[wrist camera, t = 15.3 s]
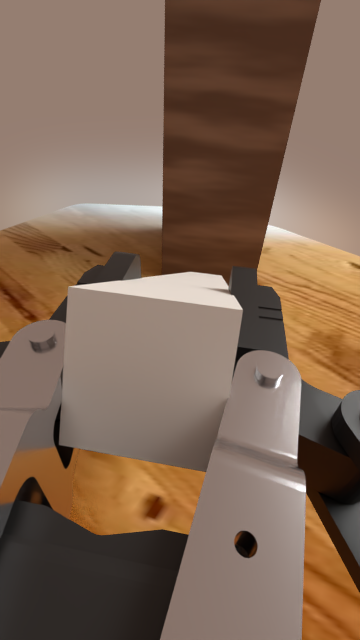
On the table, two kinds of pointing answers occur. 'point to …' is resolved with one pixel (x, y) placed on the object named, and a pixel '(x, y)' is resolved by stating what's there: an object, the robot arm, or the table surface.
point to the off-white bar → (149, 367)
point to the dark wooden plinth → (227, 125)
